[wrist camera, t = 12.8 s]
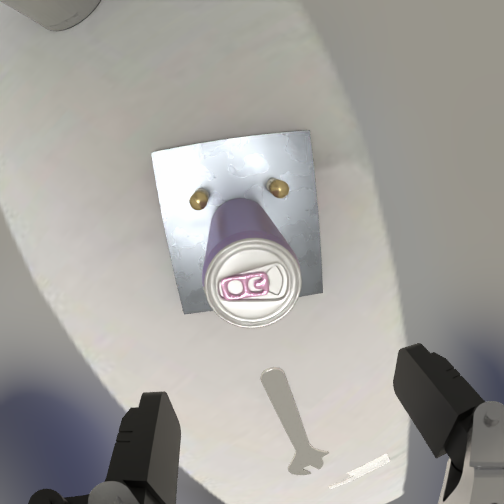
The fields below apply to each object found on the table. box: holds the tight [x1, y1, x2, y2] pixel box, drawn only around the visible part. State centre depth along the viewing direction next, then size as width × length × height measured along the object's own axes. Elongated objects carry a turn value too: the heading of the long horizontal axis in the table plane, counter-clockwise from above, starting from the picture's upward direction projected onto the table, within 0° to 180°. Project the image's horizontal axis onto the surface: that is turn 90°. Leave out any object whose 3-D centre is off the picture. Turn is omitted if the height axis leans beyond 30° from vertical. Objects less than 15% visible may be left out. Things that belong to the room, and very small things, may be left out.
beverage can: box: [202, 198, 302, 328], centre depth 25 cm, size 6×6×15 cm
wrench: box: [260, 367, 329, 475], centre depth 45 cm, size 8×32×1 cm, turn 18°
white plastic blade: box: [329, 453, 390, 489], centre depth 52 cm, size 5×15×1 cm, turn 119°
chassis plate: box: [151, 130, 323, 314], centre depth 31 cm, size 18×16×5 cm
